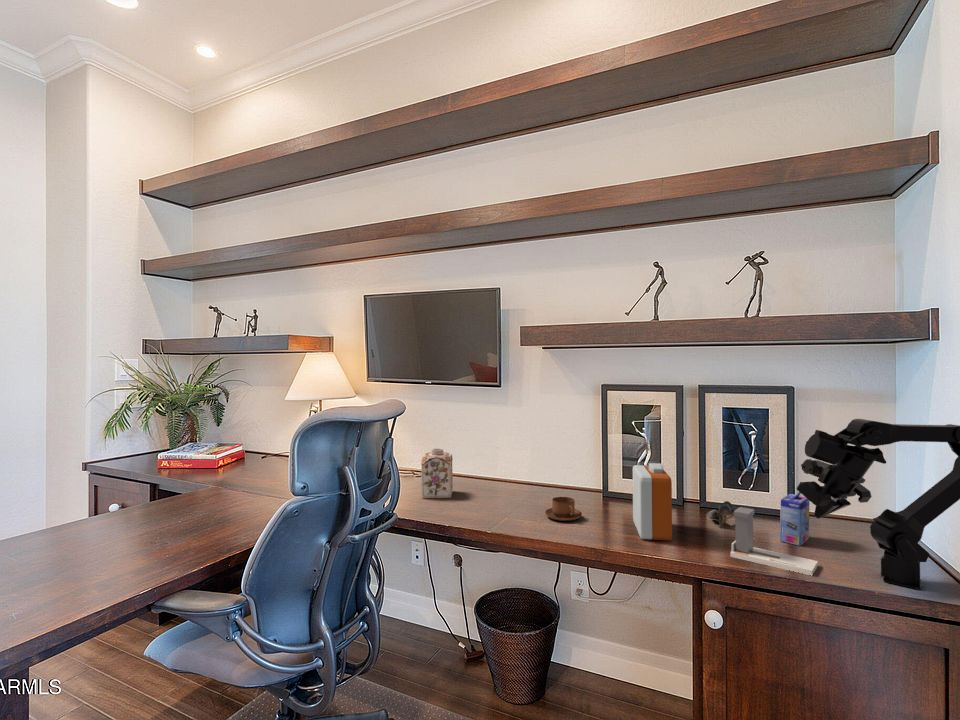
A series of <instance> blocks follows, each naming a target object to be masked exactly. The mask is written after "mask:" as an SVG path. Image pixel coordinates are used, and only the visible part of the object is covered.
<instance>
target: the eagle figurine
mask: <svg viewBox="0 0 960 720" xmlns="http://www.w3.org/2000/svg"><path fill="white" fill-rule="evenodd" d="M732 511H733V506H732V503H731V502H730V501H726V500H725V501H724V502H722V503H721V504H719V506H718V510H717V509H712V510H710V511H709V512H708V515H707V517H708V518H709V519H711V520H715V521H716V522H718V524H719V525H718V528H719V529H721V527H723V525H724V523H725V524H727V525H728V526H729V525H730V522H729V519H731V518H732V517H734V513H732ZM730 513H732V514H730ZM728 514H730V515H729V516H727V515H728Z"/></svg>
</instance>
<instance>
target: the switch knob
mask: <svg viewBox="0 0 960 720" xmlns="http://www.w3.org/2000/svg"><path fill="white" fill-rule="evenodd" d="M754 515H755V509H753V508H748V507H744V506H743V507H741V506H740V507H738V508H736V509H735V510H734V511H733V517H735V520H734V522H735V524H734V525H735V527H734V528H735V529H734V530H735V540H736V550H737V551H741V552H746V553H749V552H750V551H751V550H752V549H753V547H754Z"/></svg>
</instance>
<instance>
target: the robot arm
mask: <svg viewBox="0 0 960 720" xmlns="http://www.w3.org/2000/svg"><path fill="white" fill-rule="evenodd" d="M899 442H919V443H920V442H921V443H922V442H924V443H925V442H927V443H928V442H929V443H947V444H948V446H949V448H950V449H951V451H952V452H953V453H954V454H955V455H956V456H957V457H956V458H955V460H954V462H953V468H952V470H951V471H950V472H949V473H948V474H947V475H946V476H944V477H943V478H941V479H940V480H939V481H938V482H936V483H935V484H934V485H933V486H932V487H930V488H929V489H927V491H926V492H924V493H922V494H921V495H920V496H919V497H917V498H916V499H915V500H914V501H912V502H911V503H910V504H909V505H908V506H906V507H905V508H904V509H902V510H899V511H893V510H891V509H888V508H886V509H884V510H883V511H882V512H881V513H880V515H878V516H877V517H874V518H872V520H873V522H872V523H871V524H870V526H869V528H870V535H871V537H872V539H873V540H874V541H876V543H877V545H878V547H879V549H882V550H884V552H883V555H882V556H881V558H880V576H881V577H882V578H883V579H882V581H883V582H884V583H889V584H894V585H897V586H902V587H906V588H910V589H915V590H919V591H920V590H921V589H922V579H921V563H926V562H927V561H928V558H929V555H930V553H929V552H928V551H927V550H926V549H925V548H924V547H923V546H922V545H921V544H919V542H920V541H921V540H922V537H923V534H924V530H925V527H926V526H928V525H929V524H930V523H932V522H933V521H934V520H935V519H937V518H938V517H940V515H942V514H943V513H944V512H946V511H947V510H948V509H949V508H951V507H952V506H954V504H956V503H957V502H958V501H960V425H958V424H952V423H947V424H903V423H902V424H898V423H897V424H896V423H887V422H881V421H878V420H877V421H875V420H871V419H864V418H854V419H851V421H850V422H849V423H848V424H847V426H846V427H845V428H844V429H842V430H840V431H839V432H837V433H835V434H834V435H833V434H829V433H828V432H825V431H824V430H819V429H815V431H814V434H812V435H810V437H809V438H808V440H806V441H805V445H804V454H805V456H807V457H808V459H805V460H804V461H803V462H802V463H801V464H800V467H801V470H802V471H803V473H804V474H806V475H811V476H813V477H817V481H818V482H819V483H821V484H822V485H820V484H819V483H817V482H816V481H814V480H813V481H800V482H799V483H798V485H797V486H796V491H798V493H799V492H800V493H801V494H800V495H801V496H805V497H806V498H807V499H808V500H809V502H811V503H812V504H813V505H814V506H815V509H814V514H813V515H814V517H815V518H816V519H821V518H824V517H826V516H828V515H831V514H832V513H835V512H837V511H839V510H842V509H843V508H846V507H848V506H849V507H850V506H851V505H852V503H851V502H850V501H848V500H847V499H848V497H856V496H858V499H857V500H858V502H859V503H860V504H861V503H863V504H864V503H868V502H869V501H870V499H871V498H872V493H871V490H869V489H868V488H866V486H864V485H862V484H864V483H865V481H866V479H865V478H864V476H865V475H866V473H868V471H869V469H870V468H871V466H872V465H873V464H874V462H876V463H877V462H878V463H881V464H883V465H885V464H887V460H886V458H884V452H883V451H882V450H881V448H880V447H879V446H887V445H891V444H895V443H899ZM865 446H871V447H872V446H873V447H874V448H869V447H865ZM875 447H876V448H875Z"/></svg>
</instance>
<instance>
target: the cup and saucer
mask: <svg viewBox="0 0 960 720" xmlns="http://www.w3.org/2000/svg"><path fill="white" fill-rule="evenodd" d="M551 501H552V502H551V504H552V507H550V508H548V509H546V510H545V512H544V514H545V516H547V517H548V518H550V519H552V520H555V521H561V522H562V521H563V522H570V521H575V520H578V519H580V518H581V517H582V515H583V514H582V513H583V512H582V511H580V510H578V509H576V508H575V503H576V502H575V499H574V498H572V497H567V496H555V497H553V498H552V499H551Z"/></svg>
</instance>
